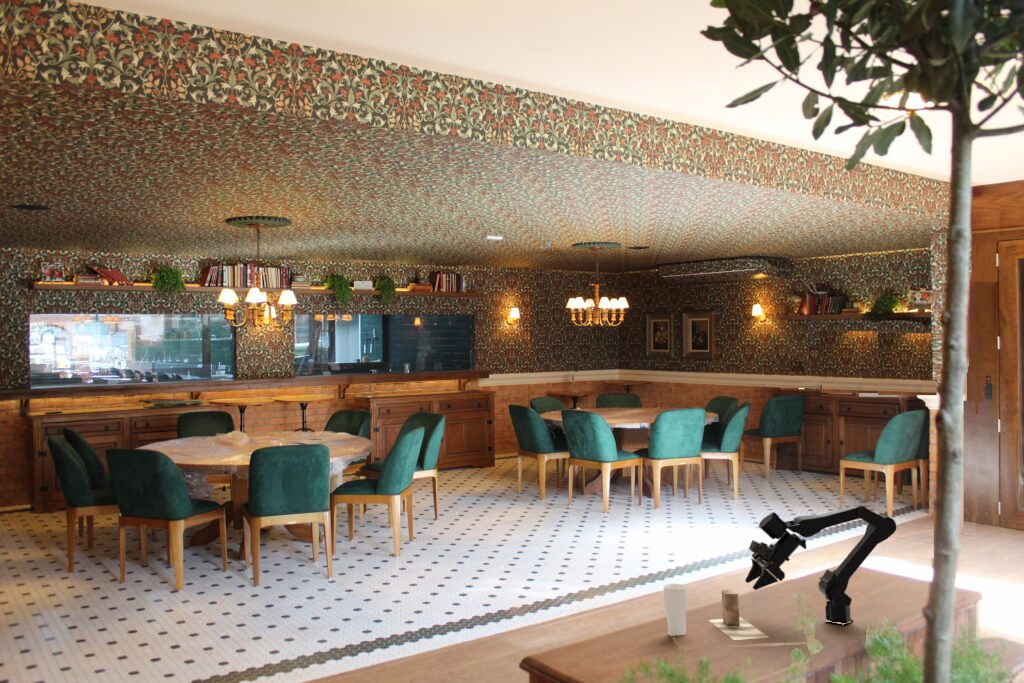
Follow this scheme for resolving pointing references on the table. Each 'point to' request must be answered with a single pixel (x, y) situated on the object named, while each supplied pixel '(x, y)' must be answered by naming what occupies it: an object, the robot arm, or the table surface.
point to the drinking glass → (675, 608)
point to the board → (739, 630)
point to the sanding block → (730, 608)
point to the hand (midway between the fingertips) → (749, 585)
